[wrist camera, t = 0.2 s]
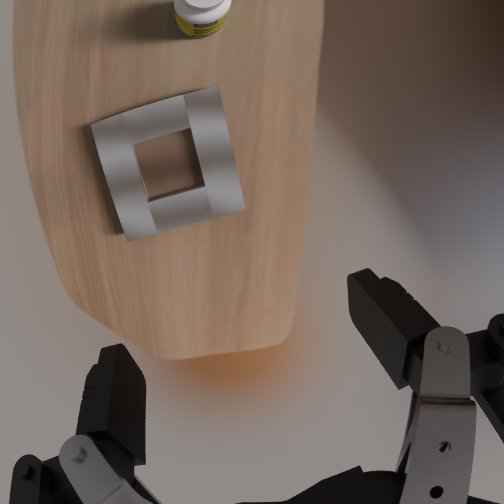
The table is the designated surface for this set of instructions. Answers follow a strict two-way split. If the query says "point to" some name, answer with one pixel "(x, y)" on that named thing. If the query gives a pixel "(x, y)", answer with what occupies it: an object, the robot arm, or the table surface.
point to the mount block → (169, 163)
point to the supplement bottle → (200, 16)
